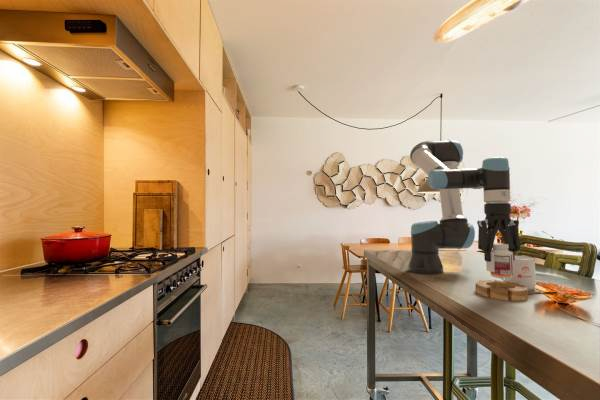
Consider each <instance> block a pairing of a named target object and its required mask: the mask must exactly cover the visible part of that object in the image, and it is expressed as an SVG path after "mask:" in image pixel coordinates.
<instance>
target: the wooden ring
mask: <svg viewBox="0 0 600 400" xmlns="http://www.w3.org/2000/svg"><path fill="white" fill-rule="evenodd" d="M474 285H475V293H476V294H478V295H481V296H483V297H486V298H490V299H493V300H494V299H495V300H501V301H507V302H508V301H512V302H516V301H517V302H518V301H519V302H521V301H528V294H527V292H528V291H527V287H525V286H523V285H520V284H516V283H510V282H506V281H503V280H496V279H494V280H492V279H484V280H482V279H481V280H480V279H479V280H476V282H475V284H474Z"/></svg>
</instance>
